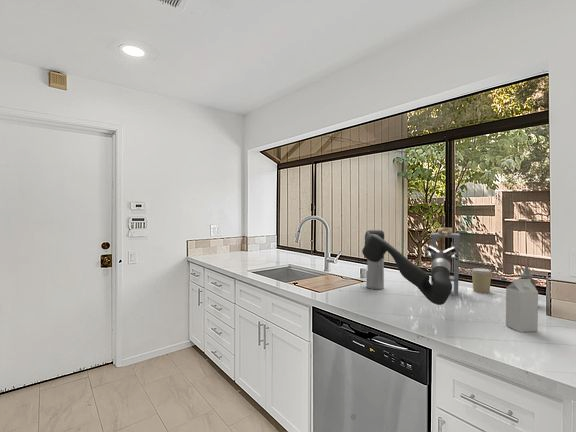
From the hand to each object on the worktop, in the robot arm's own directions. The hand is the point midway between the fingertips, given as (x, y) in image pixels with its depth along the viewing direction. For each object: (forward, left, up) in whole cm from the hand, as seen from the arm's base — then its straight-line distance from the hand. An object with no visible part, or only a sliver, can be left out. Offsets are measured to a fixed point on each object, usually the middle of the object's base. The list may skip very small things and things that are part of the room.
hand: (441, 243), depth 153 cm
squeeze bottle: (+36, +19, -30) cm, 50 cm away
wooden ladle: (+1, +21, +3) cm, 21 cm away
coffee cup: (+19, +37, -30) cm, 51 cm away
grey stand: (+1, +26, -29) cm, 39 cm away
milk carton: (+28, -19, -30) cm, 45 cm away
